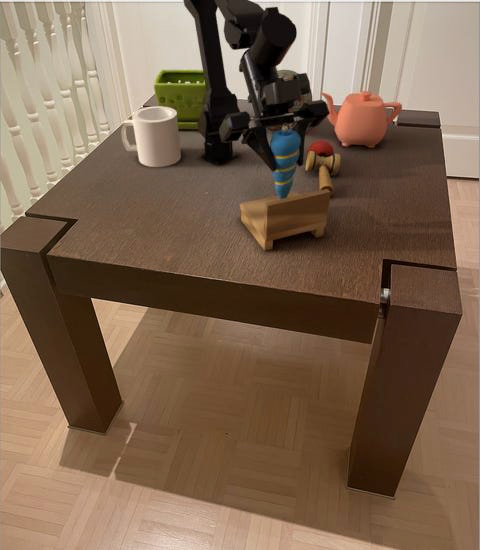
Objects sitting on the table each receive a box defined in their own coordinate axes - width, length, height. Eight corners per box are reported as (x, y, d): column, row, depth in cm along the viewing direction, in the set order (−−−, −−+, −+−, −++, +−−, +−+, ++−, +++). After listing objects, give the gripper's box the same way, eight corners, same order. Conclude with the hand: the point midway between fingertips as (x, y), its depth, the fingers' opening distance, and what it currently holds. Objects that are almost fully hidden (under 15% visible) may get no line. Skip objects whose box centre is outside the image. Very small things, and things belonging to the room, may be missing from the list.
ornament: (301, 206, 83) (308, 125, 73) (276, 213, 81) (281, 131, 71) (286, 193, 86) (291, 114, 77) (262, 199, 85) (265, 120, 75)
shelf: (240, 218, 90) (239, 174, 83) (294, 206, 93) (297, 163, 87) (265, 252, 81) (267, 206, 75) (324, 237, 84) (330, 191, 78)
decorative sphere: (273, 114, 132) (275, 59, 123) (319, 126, 126) (325, 68, 116) (243, 131, 123) (243, 73, 114) (291, 144, 116) (295, 83, 107)
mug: (121, 167, 107) (112, 122, 100) (129, 148, 115) (122, 106, 108) (178, 166, 107) (174, 122, 100) (183, 148, 115) (179, 106, 108)
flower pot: (209, 133, 122) (207, 84, 114) (157, 133, 123) (151, 84, 115) (212, 114, 133) (210, 68, 125) (165, 114, 133) (160, 68, 125)
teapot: (316, 128, 124) (321, 81, 117) (392, 132, 122) (401, 85, 114) (315, 148, 114) (320, 99, 107) (397, 153, 112) (408, 103, 104)
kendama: (347, 202, 96) (337, 155, 109) (346, 178, 92) (336, 131, 104) (310, 207, 98) (304, 159, 110) (307, 183, 93) (302, 136, 105)
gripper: (223, 61, 68) (251, 160, 68) (331, 49, 74) (358, 140, 73) (208, 98, 79) (232, 184, 78) (304, 84, 84) (327, 165, 84)
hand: (287, 168), depth 78 cm, fingers closed on ornament, 5 cm apart
